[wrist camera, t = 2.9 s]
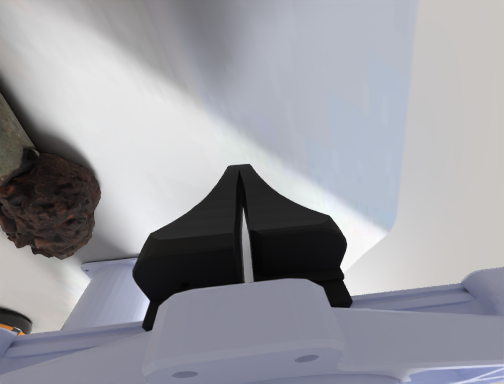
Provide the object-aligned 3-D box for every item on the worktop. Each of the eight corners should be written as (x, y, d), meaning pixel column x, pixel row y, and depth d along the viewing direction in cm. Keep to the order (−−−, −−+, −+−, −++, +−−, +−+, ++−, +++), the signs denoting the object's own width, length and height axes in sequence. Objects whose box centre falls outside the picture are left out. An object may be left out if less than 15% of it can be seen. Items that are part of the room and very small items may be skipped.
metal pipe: (-121, 7, 11) (-388, -32, 6) (10, 7, 11) (-144, -29, 6) (65, 229, 21) (20, 277, 16) (129, 224, 21) (102, 269, 17)
